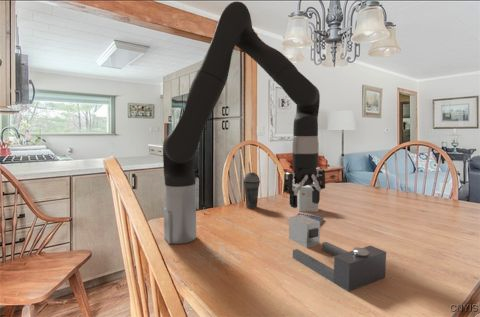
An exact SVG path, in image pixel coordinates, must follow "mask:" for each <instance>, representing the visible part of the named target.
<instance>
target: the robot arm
mask: <svg viewBox="0 0 480 317" xmlns="http://www.w3.org/2000/svg"><path fill="white" fill-rule="evenodd" d="M235 46H236V47H237V48H238V49H240V50H241V51H243V52H244V53H245V54H246V55H247V56H248V57H250V58H251V59H252V60H254V61H255V62H256V63H257V64H258V65H259V66H260V67H261V68H262V69H263V70H264V71H265V72H266V74H267V75H268V76H269V77H270V78H271V79H272V80H273V81H274V82H275V83H276V84H277V85H278V86H279V87H280V88H282V91H284V93H286V95H287V96H288V97H289V99H291V101H292V102H293V103H294V104H296V109H295V110H296V112H295V118H294V120H293V131H292V132H293V134H292V135H293V137H292V152H291V153H292V156H291V157H292V164H291V166H292V168H293V171H292V172H287V171H286V172H284V177H283V193H285V194H288V196H289V206H290V207H291V208H293V209H296V208H297V209H298V191H299V190H300V189H301V188H302V186H306V185H310V186H311V188H312V189H313V190H314V191H312V202H313V203H315V204H318V205H319V203H320V198H321V197H320V196H321V194H320V193H321V191H322V190H324V189H326V171H325V170H326V169H322V168H321V169H320V168H319V151H320V150H319V148H320V147H319V137H318V136H319V122H318V121H319V120H318V119H319V110H320V104H321V102H320V99H321V98H320V97H321V94H320V91H319V89H318V88H317V86H316V85H314V84H313V83H312V82H311V81H310V80H309V79H308V78H307V77H306V76H304V75H303V73H301V72H300V71H299V70H298V68H297V66H295V65H294V64H293V62H291V61H290V59H288V57H287V56H285V55H284V54H283V53H282V52H280V50H278V49H276V48H274V47H272V46H270V45H269V44H267V43H265V42H264V41H263V40H262V39H261V38H260V37H259V36H258V34H257V32H256V31H255V30H254V28H253V22H252V17H251V13H250V11H249V9H248V7H247V6H246V5H245V4H244V3H243V2H242V1H233V2H230V3H229V4H227V5H226V6H225V7H224V8H223V10H222V11H221V13H220V16H219V18H218V21H217V25H216V27H215V31H214V32H213V36H212V39H211V42H210V44H209V46H208V47H207V50H206V52H205V55H204V57H203V59H202V61H201V63H200V66H199V67H198V70H197V71H196V73H195V76H194V78H193V80H192V82H191V85H190V88H189V90H188V94H187V98H186V102H185V106H184V108H183V112H182V115H181V116H180V118H179V120H178V122H177V124H176V126H175V128H174V129H173V131H172V132H170V133H169V134H168V135H167V136H166V137H165V139H164V140H163V143H162V144H163V145H162V163H163V176H164V199H165V200H164V201H165V204H164V208H163V227H164V228H163V229H164V239H165V241H166V243H167V244H169V245H173V244H175V245H176V244H177V245H179V244H180V245H182V244H189V243H191V242H193V241H195V240H196V239H197V194H196V193H197V192H196V190H197V189H196V187H197V186H196V181H197V180H196V174H195V169H194V168H195V167H194V156H195V155H196V153H197V150H198V148H199V144H200V142H201V138H202V136H203V132H204V129H205V126H206V124H207V122H208V120H209V118H210V117H211V115H212V113H213V111H214V109H215V107H216V106H217V103H218V101H219V99H220V97H221V95H222V93H223V91H224V88H225V86H226V84H227V80H228V79H229V78H228V77H229V74H230V73H229V72H230V68H231V62H232V58H233V54H234V53H233V52H234V50H235Z"/></svg>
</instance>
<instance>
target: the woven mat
mask: <svg viewBox="0 0 480 317" xmlns="http://www.w3.org/2000/svg"><path fill="white" fill-rule="evenodd" d="M297 215H304V216H307V217H309V218H312V219H314V220H317V221H320V225H322V223H323V222H324V221H325V220H324V217H323V216H321V215H314V214H306V213H301V212H299V213H297V214H296V215H295V216H297Z"/></svg>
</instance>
